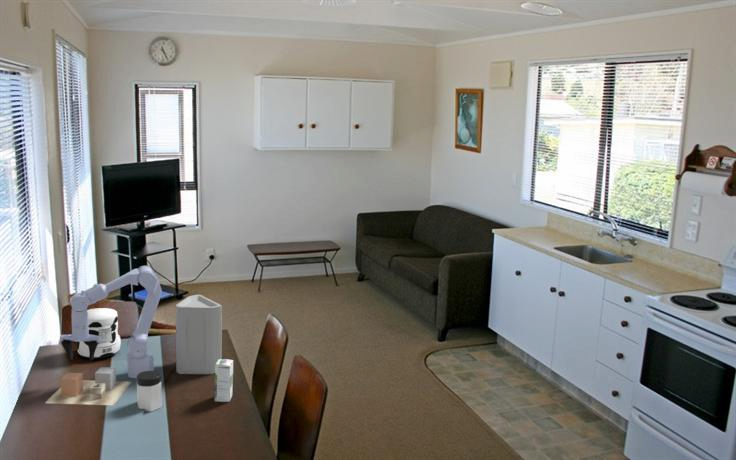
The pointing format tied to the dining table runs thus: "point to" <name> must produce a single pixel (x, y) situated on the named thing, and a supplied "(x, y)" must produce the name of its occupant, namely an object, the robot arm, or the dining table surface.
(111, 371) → the grey cover
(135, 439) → the dining table surface
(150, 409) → the jar
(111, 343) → the milk container
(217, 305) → the white triangular prism
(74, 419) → the dining table surface
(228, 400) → the syrup box
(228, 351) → the dining table surface
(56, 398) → the birch board
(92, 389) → the letter cube
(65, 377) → the terracotta cover
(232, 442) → the dining table surface
